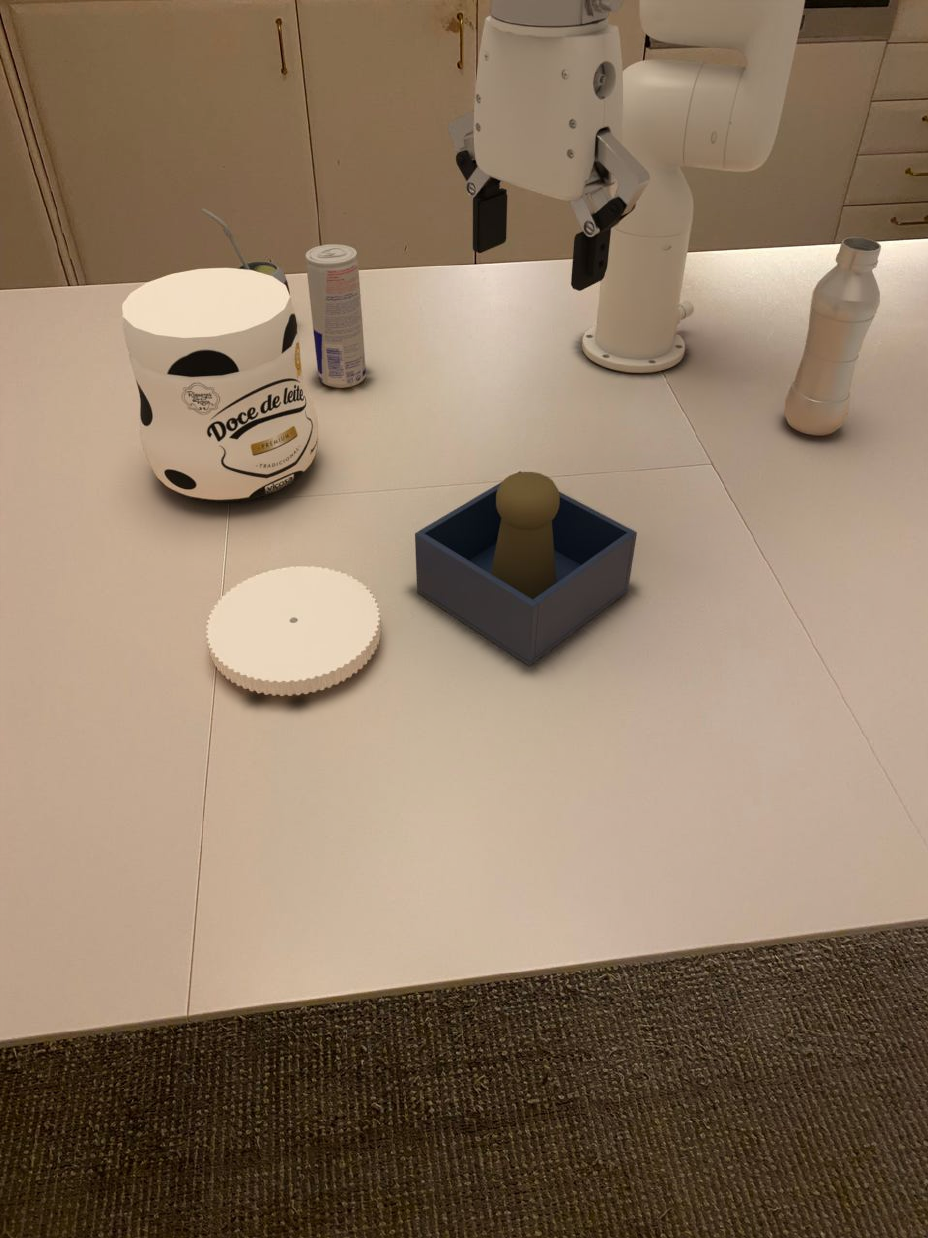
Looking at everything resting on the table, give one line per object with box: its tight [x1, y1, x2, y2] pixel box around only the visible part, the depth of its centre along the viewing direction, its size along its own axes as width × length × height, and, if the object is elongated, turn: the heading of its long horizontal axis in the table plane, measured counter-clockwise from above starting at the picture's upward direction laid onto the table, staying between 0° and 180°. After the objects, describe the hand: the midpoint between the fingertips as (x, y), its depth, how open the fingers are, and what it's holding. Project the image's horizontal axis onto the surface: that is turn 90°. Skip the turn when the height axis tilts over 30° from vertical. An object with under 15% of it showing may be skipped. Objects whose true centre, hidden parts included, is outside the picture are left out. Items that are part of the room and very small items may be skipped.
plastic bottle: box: [783, 236, 882, 437], centre depth 98 cm, size 6×7×20 cm
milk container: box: [121, 267, 319, 503], centre depth 92 cm, size 17×17×18 cm
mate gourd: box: [201, 207, 291, 296], centre depth 117 cm, size 8×8×15 cm
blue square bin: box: [414, 470, 638, 667], centre depth 82 cm, size 13×13×6 cm
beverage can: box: [305, 243, 367, 389], centre depth 107 cm, size 6×6×15 cm
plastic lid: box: [205, 565, 382, 697], centre depth 78 cm, size 14×14×2 cm
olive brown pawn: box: [491, 471, 560, 600], centre depth 80 cm, size 6×6×11 cm
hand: (536, 265), depth 71 cm, fingers open, 9 cm apart
